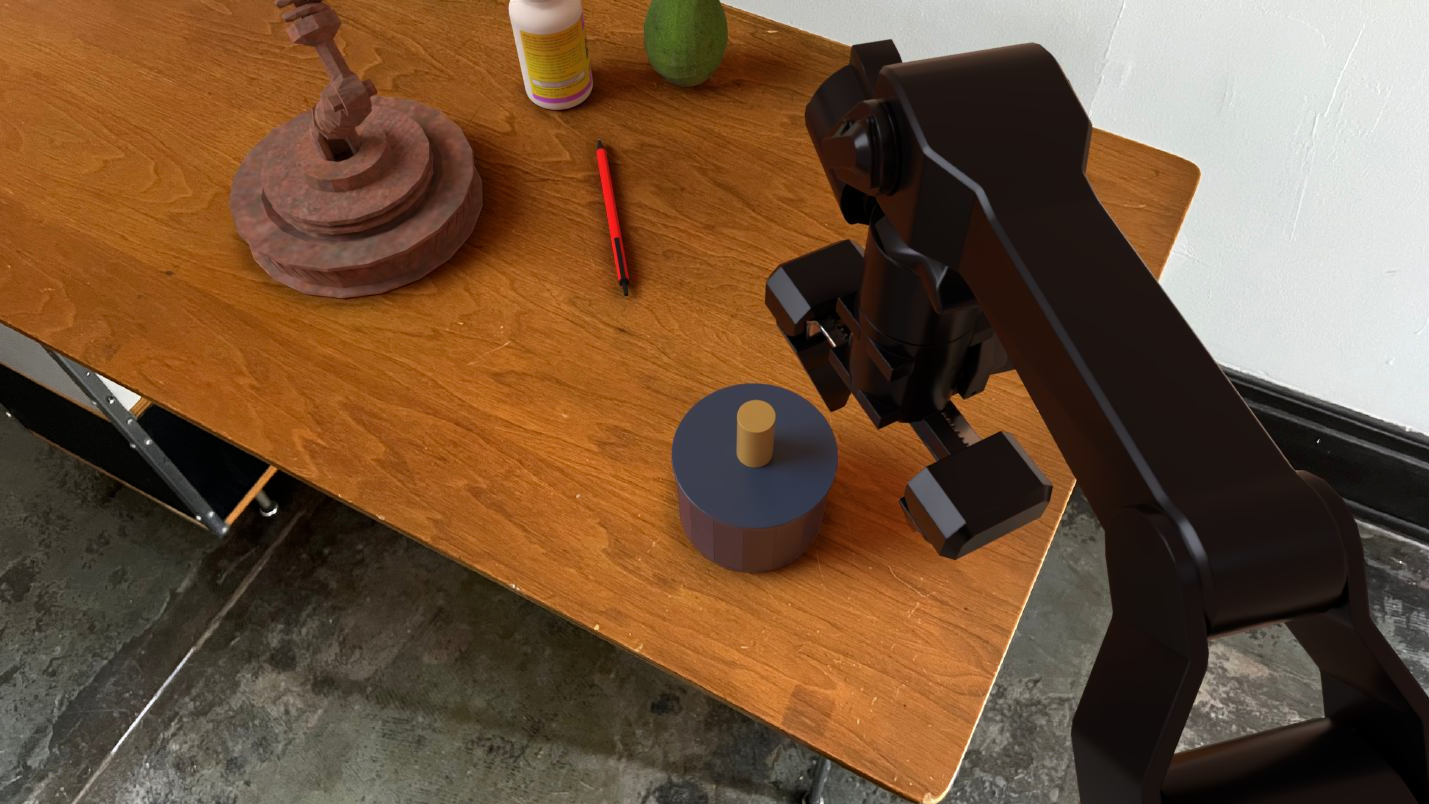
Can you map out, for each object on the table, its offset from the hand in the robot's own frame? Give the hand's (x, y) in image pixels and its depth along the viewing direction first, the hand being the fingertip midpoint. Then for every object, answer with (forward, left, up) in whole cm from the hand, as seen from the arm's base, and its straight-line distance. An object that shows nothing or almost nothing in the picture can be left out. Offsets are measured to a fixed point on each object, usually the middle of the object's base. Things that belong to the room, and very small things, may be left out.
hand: (876, 464), depth 58 cm
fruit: (+51, -11, -13) cm, 54 cm away
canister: (+6, +5, -13) cm, 15 cm away
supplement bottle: (+55, +1, -13) cm, 57 cm away
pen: (+37, +3, -13) cm, 40 cm away
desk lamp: (+50, +22, -13) cm, 56 cm away
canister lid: (+6, +5, -5) cm, 10 cm away
